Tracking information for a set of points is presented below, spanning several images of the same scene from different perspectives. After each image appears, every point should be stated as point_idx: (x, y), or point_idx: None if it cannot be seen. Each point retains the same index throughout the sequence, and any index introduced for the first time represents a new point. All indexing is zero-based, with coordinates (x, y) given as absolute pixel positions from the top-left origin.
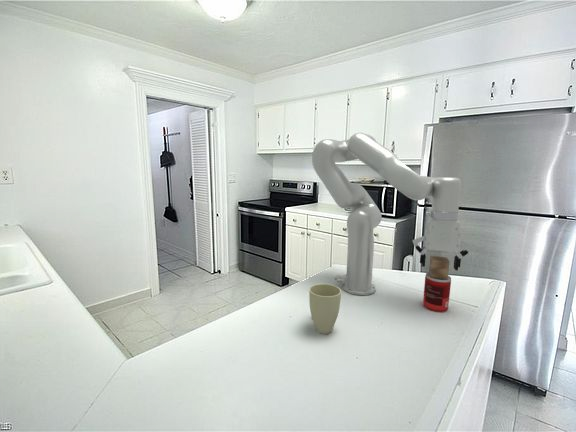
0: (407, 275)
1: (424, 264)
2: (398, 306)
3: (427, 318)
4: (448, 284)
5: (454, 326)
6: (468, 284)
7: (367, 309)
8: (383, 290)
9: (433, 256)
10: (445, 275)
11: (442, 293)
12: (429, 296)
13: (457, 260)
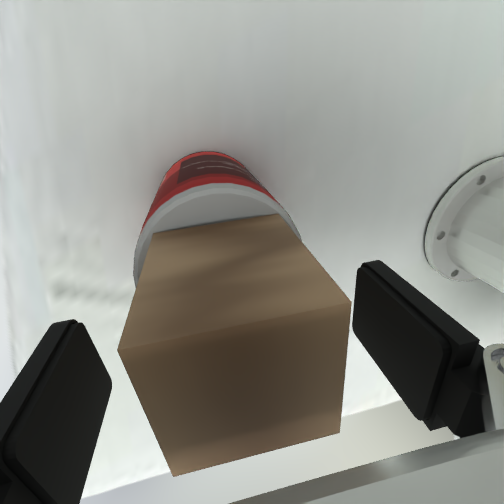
0: None
1: (375, 274)
2: (353, 128)
3: (236, 53)
4: (148, 217)
5: (110, 15)
6: (115, 443)
7: (486, 21)
8: (393, 254)
9: (313, 425)
10: (170, 245)
11: (183, 173)
12: (246, 171)
13: (2, 426)
